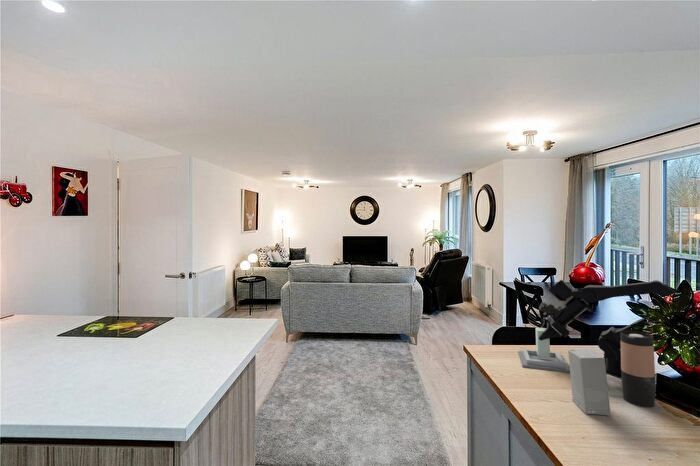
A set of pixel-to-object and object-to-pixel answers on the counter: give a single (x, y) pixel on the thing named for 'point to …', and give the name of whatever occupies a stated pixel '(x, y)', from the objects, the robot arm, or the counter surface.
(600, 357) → the skincare box
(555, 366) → the charging dock
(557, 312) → the robot arm
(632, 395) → the travel mug
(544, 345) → the rectangular block
